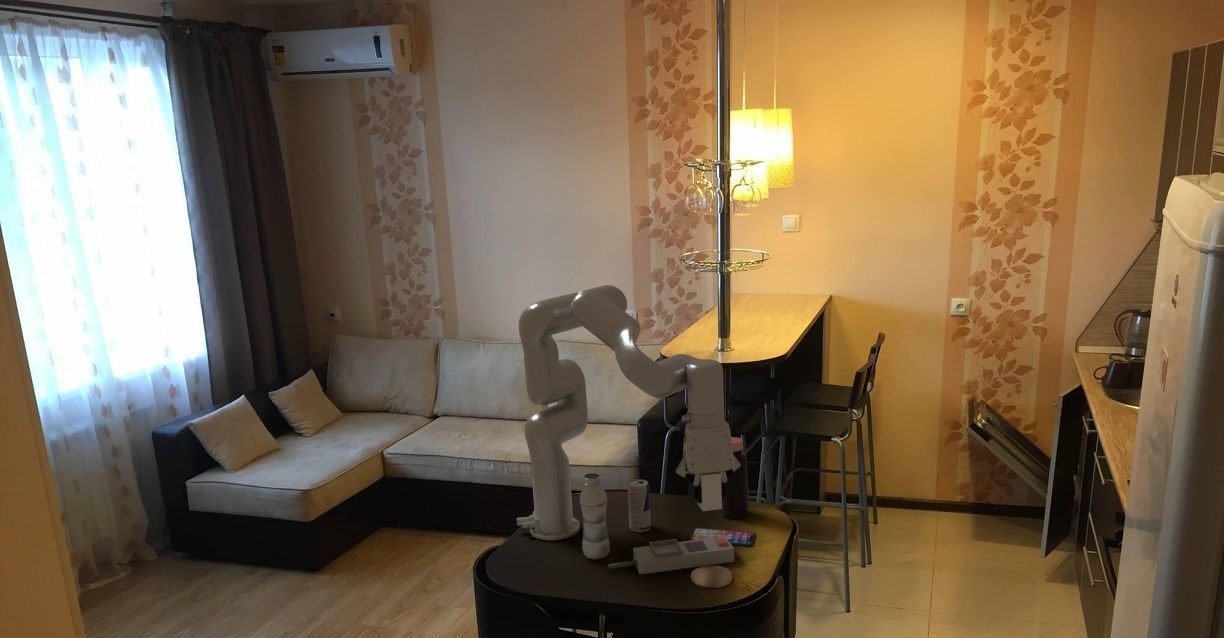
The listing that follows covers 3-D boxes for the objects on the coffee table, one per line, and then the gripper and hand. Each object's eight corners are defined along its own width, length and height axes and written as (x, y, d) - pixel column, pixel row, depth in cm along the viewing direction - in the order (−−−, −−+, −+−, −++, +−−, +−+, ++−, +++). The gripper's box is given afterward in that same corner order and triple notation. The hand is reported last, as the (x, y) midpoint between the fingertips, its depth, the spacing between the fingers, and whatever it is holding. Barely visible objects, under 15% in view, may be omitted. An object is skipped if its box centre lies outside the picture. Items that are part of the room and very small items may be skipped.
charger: (703, 511, 178) (701, 475, 177) (697, 503, 182) (696, 468, 181) (722, 508, 179) (720, 473, 177) (716, 501, 183) (715, 466, 181)
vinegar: (727, 507, 220) (725, 434, 216) (752, 511, 216) (750, 437, 212) (717, 517, 214) (714, 442, 210) (742, 521, 211) (740, 446, 207)
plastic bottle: (596, 547, 201) (591, 468, 197) (616, 555, 196) (611, 475, 193) (576, 557, 197) (571, 476, 193) (596, 566, 192) (591, 483, 188)
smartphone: (694, 527, 208) (755, 531, 204) (694, 530, 208) (755, 535, 204) (688, 540, 201) (751, 545, 197) (689, 544, 201) (751, 549, 197)
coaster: (697, 590, 179) (697, 588, 179) (686, 570, 188) (686, 568, 187) (737, 584, 180) (737, 582, 180) (725, 565, 189) (725, 563, 189)
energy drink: (654, 526, 211) (652, 481, 209) (644, 534, 207) (641, 488, 204) (636, 522, 214) (634, 477, 212) (625, 530, 209) (623, 485, 207)
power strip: (611, 578, 186) (610, 560, 185) (606, 564, 192) (605, 547, 192) (734, 561, 191) (733, 544, 190) (725, 548, 197) (725, 532, 196)
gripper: (672, 428, 172) (675, 511, 175) (750, 419, 175) (752, 501, 178) (663, 417, 179) (667, 497, 183) (738, 409, 182) (741, 488, 185)
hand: (709, 498), depth 180 cm, fingers closed on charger, 4 cm apart
